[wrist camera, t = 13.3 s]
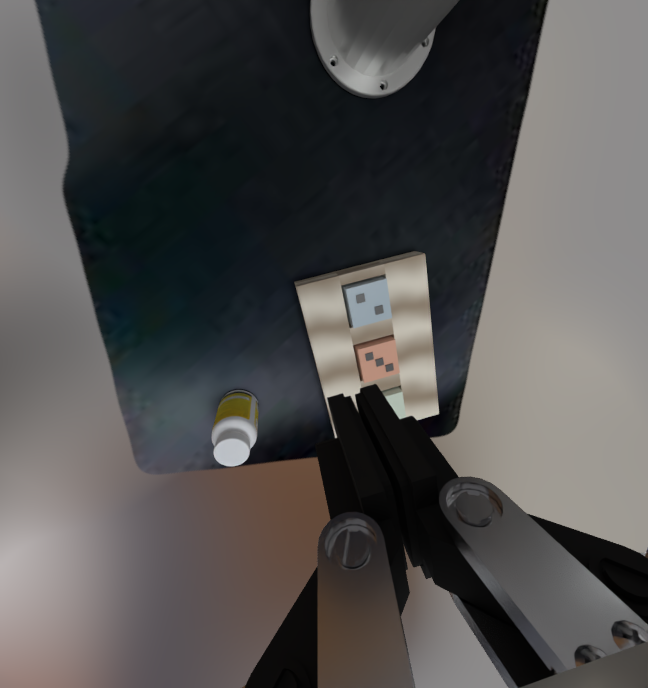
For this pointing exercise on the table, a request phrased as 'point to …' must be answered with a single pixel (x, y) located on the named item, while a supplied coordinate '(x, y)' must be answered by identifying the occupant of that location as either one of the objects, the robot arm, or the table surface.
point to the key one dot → (395, 400)
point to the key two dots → (367, 301)
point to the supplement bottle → (235, 427)
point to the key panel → (374, 331)
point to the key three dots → (376, 358)
